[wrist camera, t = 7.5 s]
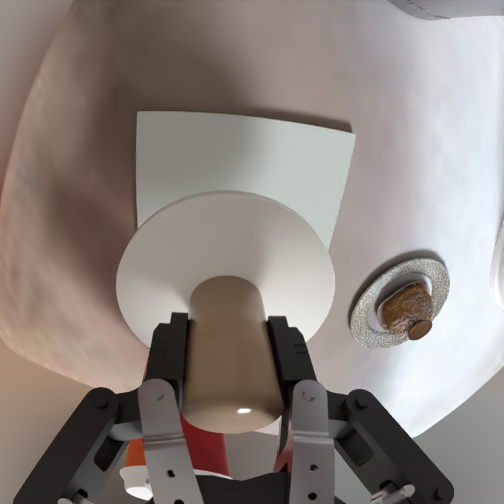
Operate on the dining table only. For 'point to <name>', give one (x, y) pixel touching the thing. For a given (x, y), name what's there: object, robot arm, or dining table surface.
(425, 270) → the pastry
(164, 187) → the rubber mat
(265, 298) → the cup lid
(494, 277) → the plate stack
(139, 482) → the coffee cup
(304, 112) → the dining table surface
